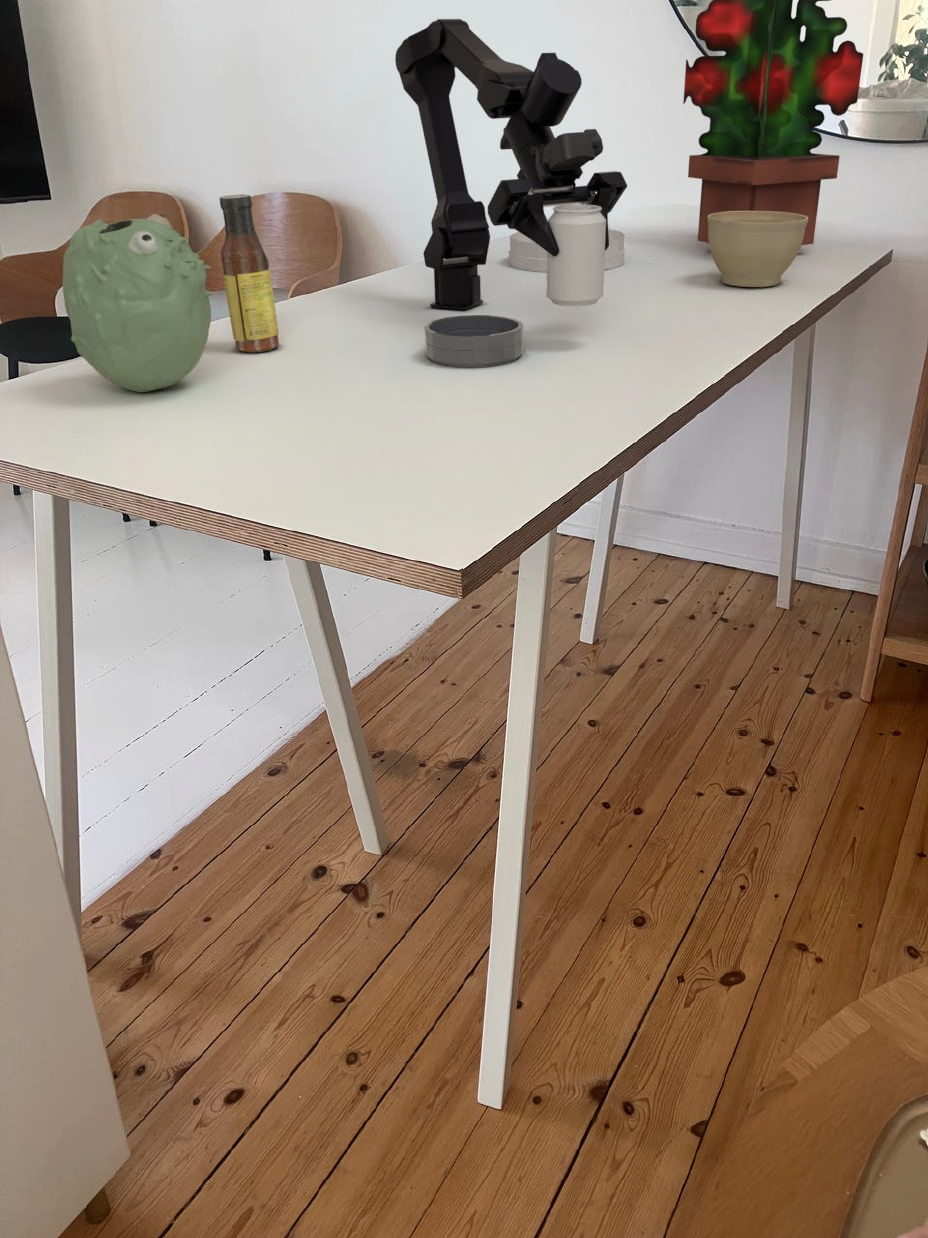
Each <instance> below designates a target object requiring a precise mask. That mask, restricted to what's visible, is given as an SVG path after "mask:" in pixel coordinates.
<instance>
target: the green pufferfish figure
mask: <svg viewBox="0 0 928 1238" xmlns="http://www.w3.org/2000/svg"><path fill="white" fill-rule="evenodd" d="M172 227H173V226H172V224H171V222H170V220H168V218H166V216H165V215H164V214H157V213H152V214H151V215H150V216H148V217H146V218H129V219H125V220H123V221H116V222H111V223H106V221H105V222H104V221H103V219H100V218H98V219H96V220H95V221H94V222H93V223H91V224H88V225H87V226H84V227H80V228H78V229H76V230H75V231H74V232H73V234H72V236H71V238H70V244H69V245H68V247H67V249H66V250H65V251H64V254H63V263H62V268H63V269H62V276H63V278H62V294H63V299H64V300H63V301H64V308H65V312H66V314H67V317H68V318H69V319H68V320H69V321H70V328H71V334H72V335H71V338H70V341H71V342H72V343H73V344H74V345H75V348H76V351H77V353H78V354H79V355H80V356H81V357H82V359H84V361H86V362H87V364H89V366H91V367H92V368H93V369H94V370H95V371H96V372H97V373H98V374H99V375H100V376H102V377H103V378H104V379H105V380H107V381H108V382H110V383H112V384H115V385H117V386H119V387H121V388H124V389H126V390H130V391H133V392H138V393H148V392H152V391H156V390H161V389H166V388H168V387H171V386H173V385H175V384H177V383H179V382H180V381H182V380H183V379H184V378H185V377H187V376H188V375H189V374H190V373H191V372H192V371H193V370H195V368H196V366H197V365H198V364H199V362H200V360H201V358H202V356H203V354H204V351H205V349H206V346H207V343H208V339H209V333H210V332H209V331H210V327H211V323H212V307H211V303H210V298H209V297H211V296H214V295H215V292H214V291H211V290H207V289H206V281H207V277H208V276H207V275H208V274H207V272H206V270H210V269H211V268H212V267H211V265H207V264H205V262H204V260H203V259H200V255H199V254H198V253H196V252H194V251H193V250H192V248H191V246H190V244H189V243H188V238H187V237H184V236H181V235H180V233H179V232H178V231H176V230H175V229H173V228H172Z"/></svg>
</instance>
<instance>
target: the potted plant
mask: <svg viewBox="0 0 928 1238" xmlns="http://www.w3.org/2000/svg"><path fill="white" fill-rule="evenodd" d="M793 1H794V0H711V1H710V2H709V3H708V6H707V9H705V10H704V11H701V12H700V13H698V15H697V17H696V20H695V36H696V38H697V39H699V40H700V41H703V42H704V44H705V47H706V49H707V50H708V51H710V52H724V54H723V55H701V56H699V57H697V58H695V60H694V62H693V65H692V66H690V63H689V60H688V59H687V58H685V71H684V86H683V87H684V88H683V102H682V104H683V105H685V103H686V101H687V99H688V98H689V97H690V100H691V101H690V102H691V104H692V105H693V106H695V107H698V108H700V112H701V115H702V116H704V117H705V118H708V119H709V130H708V131H706V132H703V133H701V135H700V136H699V138H698V145H699V146H700V148H702V149H704V150H707V151H706V152H704V153H701V154H691V155H689V157H688V169H687V171H688V173H687V178H689V179H690V178H691V179H696V180H697V179H698V180H701V189H700V203H699V216H698V231H697V242H700V243H706V244H709V240H708V215H709V214H713V213H718V212H728V211H774V212H787V213H794V214H800V215H804V216H807V217H808V222H807V225H806V227H805V233H804V237H803V241H802V244H801V246H809V245H814V241H815V234H816V227H817V226H816V225H817V217H818V211H819V210H818V209H819V202H820V201H819V200H820V192H821V183H822V181H823V180H835V179H836V180H837V179H838V172H839V166H840V165H839V164H840V158H841V157H840V155H838V154H826V153H825V154H824V153H813V152H811V150H813V149H817V148H818V147H819V146H820V145H821V144H822V142H823V138H822V135H821V134H820V132H818V131H815V130H814V128H817V127H820V126H821V125H822V124H823V123H824V122H825V119H826V117H825V113H824V112H823V111H822V110H820V109H817V108H816V107H817V106H829V107H830V112H831V113H832V115H834V116H837V117H840V116H843V115H844V114H846V113H847V111H848V110H849V107H850V106H851V105H855V104H857V103H858V98H859V91H860V85H861V84H860V83H861V75H862V68H863V62H864V61H863V60H864V53H863V52H861V51H859V50H857V46H856V44H855V42H853V40H845V41H842V42H841V43H840V44H839V45H838V48H837V50H836V51H834V45H835V44H834V43H835V39H836V38H837V37H839V36H842V35H843V34H845V32H846V31H847V29H848V22H847V20H846V19H845V18H844V17H841V16H832V17H828V16H827V14H826V11H825V9H824V7H822V6H820V5H817V3H818V2H830V1H831V0H798V1H797V3H796V11H795V16H794V17H792V14H793V13H792V11H793V3H794V2H793ZM803 27H804V28H805V31H804V39H803V40H801V36H802V35H801V33H802V28H803Z"/></svg>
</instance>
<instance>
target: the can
mask: <svg viewBox="0 0 928 1238" xmlns="http://www.w3.org/2000/svg"><path fill="white" fill-rule="evenodd" d="M552 210H553V213H552V214H551V215H550V216H549V217H548V218H547V221H548V223H549V225H550V227H551V230H552V232H553V234H554V237H555V239H556V241H557V245H558V248H559V253H558V255H557V256H552V255H551V254H550V253H548V252H547V272H546V297H547V298H548V299H549V300H550V301H551V303H552V304H554V305H557V306H562V307H587V306H592V305H595V304H597V303H598V301H599V300H601V298H602V297H604V279H605V277H604V276H605V270H604V258H605V234H606V219H605V218H604V217H603V215H602V214H601V213H600V211H601V210H602V208H601V207H600V206H595V205H581V204H571V205H561V206H553V207H552Z"/></svg>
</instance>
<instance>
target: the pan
mask: <svg viewBox="0 0 928 1238" xmlns="http://www.w3.org/2000/svg"><path fill="white" fill-rule="evenodd" d="M423 327H424V349H425V351H424V352H425V355H426V357H427V358H429V359H430V360H431V362H434V363H435V364H439V365H442V366H447V367H455V368H486V367H487V368H488V367H495V366H500V365H505V364H509V363H511V362H514V361H516V360H518V359H519V357H521V355H523V352H524V324H523V322H522V321H520V320H518V319H515V318H512V317H507V316H501V315H489V314H488V315H487V314H484V315H483V314H480V315H479V314H471V315H456V316H448V317H443V318H439V319H435V320H433V321H430V322H428V323H426V324H425V325H424V326H423Z"/></svg>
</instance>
